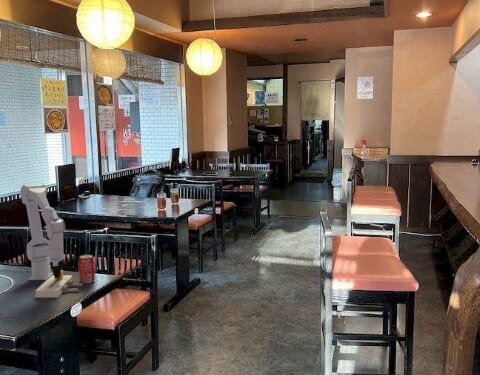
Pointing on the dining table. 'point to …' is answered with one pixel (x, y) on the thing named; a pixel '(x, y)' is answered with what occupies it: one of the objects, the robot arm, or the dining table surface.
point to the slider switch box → (53, 287)
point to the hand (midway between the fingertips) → (57, 277)
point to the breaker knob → (60, 275)
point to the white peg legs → (71, 284)
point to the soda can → (86, 269)
